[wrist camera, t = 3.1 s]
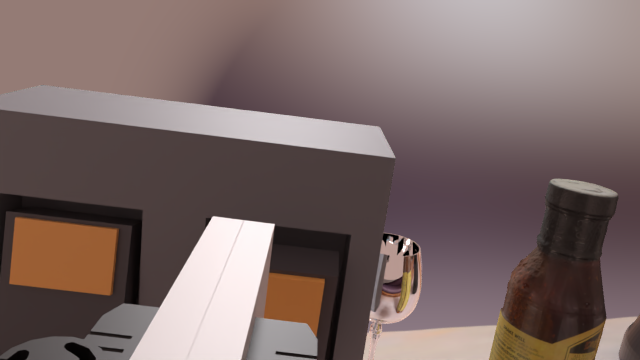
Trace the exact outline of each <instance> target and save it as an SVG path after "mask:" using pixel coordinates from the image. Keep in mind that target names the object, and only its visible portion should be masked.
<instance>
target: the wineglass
mask: <svg viewBox="0 0 640 360" xmlns="http://www.w3.org/2000/svg"><path fill="white" fill-rule="evenodd" d="M421 284H422V260H421V249H420V247H419V245H418V244H417V243H415V242H414V241H412V240H410V239H408V238H405V237H402V236H399V235H394V234H390V233H383V238H382V244H381V251H380V257H379V263H378V269H377V275H376V281H375V287H374V293H373V299H372V305H371V311H370V318H369V320H370V321H372V322H373V323H372V324H371V326H370V329H369V335H370V350H369V356H368V360H374V354H375V349H376V345H377V342H378V339H379V338H380V335H381V333H382V324H381V323H386V324H387V323H395V322H398V321H401V320H403V319H405V318H406V317H407V316H409V315H410V314H411V313H412V311H413V310H414V309H415V307H416V305H417V302H418V299H419V296H420V292H421Z"/></svg>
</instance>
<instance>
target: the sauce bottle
mask: <svg viewBox="0 0 640 360" xmlns="http://www.w3.org/2000/svg"><path fill="white" fill-rule="evenodd" d="M617 201H618V194H617V193H615V192H614V191H612V190H610V189H607V188H604V187H602V186H599V185H595V184H592V183H587V182H582V181H576V180H567V179H552V180H551V181H550V182H549V185H548V189H547V193H546V197H545V205H546V210H545V215H544V219H543V223H542V227H541V231H540V234H539V235H538V236H537V245H538V246H537V248H535V249H534V250H533V251H532V252H531V253H530V254H529V255H528V256H527V257H526V258H525V259H522V260H521V261H520V263H519V264H518V266H517V267H516V268H515V269H514V271H513V272H512V274H511V279H510V281H509V282H508V287H507V289H508V290H507V294H506V297H505V302H504V307H503V308H501V310H500V315H499V319H498V323H497V327H496V332H495V336H494V340H493V345H492V349H491V353H490V358H489V360H595V356H596V353H597V349H598V346H599V342H600V339H601V336H602V332H603V328H604V324H605V321H606V311H605V304H604V295H603V286H602V277H601V268H600V257H601V255H602V245H603V241H604V238H605V235H606V232H607V226H608V222H609V220H610V219H611V218H612V216H613V215H614V213H615V210H616V205H617Z"/></svg>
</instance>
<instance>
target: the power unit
mask: <svg viewBox="0 0 640 360" xmlns="http://www.w3.org/2000/svg"><path fill="white" fill-rule="evenodd" d="M395 159H396V158H395V156H394V154H393V152H392V150H391V148H390V146H389V144H388V142H387V140H386V138H385V137H384V135H383V133H382V131H381V129H380V127H376V126H368V125H360V124H352V123H344V122H336V121H327V120H320V119H312V118H304V117H295V116H287V115H279V114H270V113H263V112H255V111H247V110H238V109H231V108H223V107H215V106H207V105H199V104H191V103H182V102H175V101H167V100H159V99H151V98H143V97H134V96H126V95H118V94H110V93H102V92H94V91H86V90H78V89H70V88H61V87H53V86H46V85H41V86H36V87H32V88H28V89H23V90H19V91H14V92H10V93H6V94H1V95H0V275H1V263H2V252H3V241H4V230H5V219H6V211H9V210H13V209H18V208H22V207H35V208H44V209H52V210H61V211H69V212H77V213H86V214H94V215H103V216H111V217H120V218H128V219H136V220H142V240H141V255H140V264H139V274H138V284H137V293H136V303H135V305H142V306H150V307H158V308H160V306H161V305H162V303H163V301H164V300H165V298H166V296H167V294H168V293H169V291H170V289H171V288H172V286H173V284H174V282H175V281H176V279H177V277H178V275H179V274H180V272H181V270H182V269H183V267H184V265H185V263H186V262H187V260H188V258H189V257H190V255H191V253H192V251H193V250H194V248H195V246H196V245H197V243H198V241H199V239H200V238H201V236H202V234H203V233H204V231H205V229H206V227H207V226H208V224H209V222H210V221H211V219H212V217H213V216H215V217H223V218H231V219H238V220H246V221H254V222H262V223H270V224H275V226H274V235H273V244H279V245H288V246H296V247H305V248H313V249H321V250H330V251H338V252H339V275H338V283H337V289H336V295H335V301H334V307H333V313H332V319H331V325H330V331H329V337H328V343H327V349H326V355H325V360H363V354H364V348H365V342H366V336H367V330H368V323H369V318H370V311H371V305H372V299H373V293H374V287H375V281H376V275H377V269H378V263H379V257H380V251H381V244H382V238H383V232H384V226H385V220H386V214H387V208H388V202H389V196H390V190H391V183H392V177H393V170H394V165H395Z"/></svg>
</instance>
